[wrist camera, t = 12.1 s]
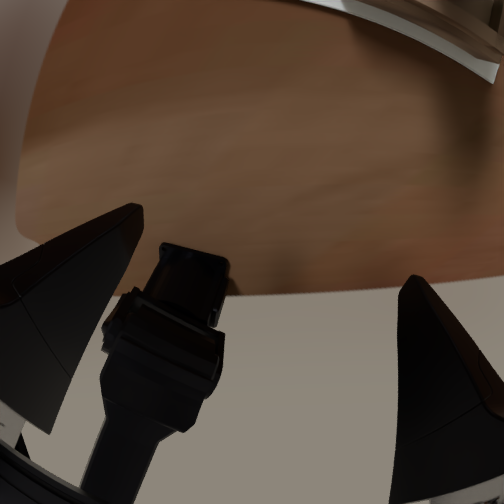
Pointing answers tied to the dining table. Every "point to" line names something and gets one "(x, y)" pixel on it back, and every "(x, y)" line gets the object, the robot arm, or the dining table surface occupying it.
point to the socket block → (456, 22)
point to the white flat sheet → (413, 34)
